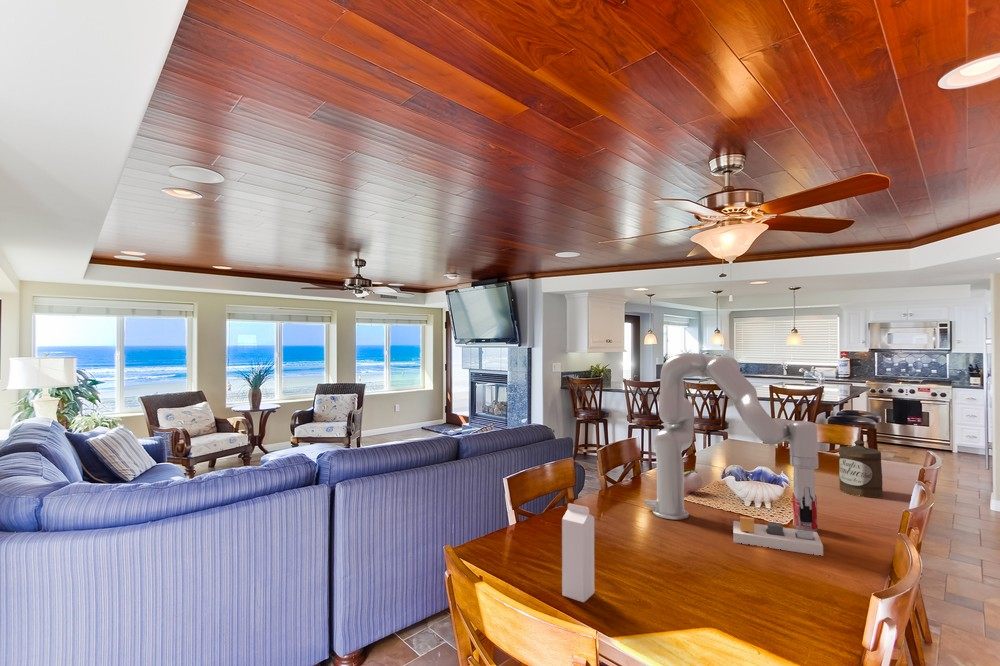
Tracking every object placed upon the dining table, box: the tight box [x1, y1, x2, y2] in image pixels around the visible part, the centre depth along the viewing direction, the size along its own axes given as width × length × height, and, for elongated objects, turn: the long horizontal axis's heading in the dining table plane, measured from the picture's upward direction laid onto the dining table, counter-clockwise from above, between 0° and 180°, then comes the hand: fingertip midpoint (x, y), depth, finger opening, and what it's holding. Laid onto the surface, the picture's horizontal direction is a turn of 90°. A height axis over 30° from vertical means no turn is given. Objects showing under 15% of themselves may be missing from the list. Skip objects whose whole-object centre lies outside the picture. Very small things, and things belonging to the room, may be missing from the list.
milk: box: [561, 502, 595, 604], centre depth 124 cm, size 6×6×22 cm
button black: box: [767, 521, 784, 536], centre depth 157 cm, size 4×4×4 cm
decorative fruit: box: [684, 468, 703, 494], centre depth 210 cm, size 9×8×10 cm
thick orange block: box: [739, 515, 755, 533], centre depth 158 cm, size 4×2×7 cm, turn 65°
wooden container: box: [838, 439, 883, 498], centre depth 211 cm, size 15×15×22 cm
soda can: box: [792, 491, 819, 532], centre depth 168 cm, size 7×7×13 cm
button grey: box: [795, 525, 813, 540], centre depth 154 cm, size 4×4×4 cm
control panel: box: [732, 520, 824, 557], centre depth 157 cm, size 24×12×3 cm, turn 65°
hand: (806, 521), depth 154 cm, fingers closed
